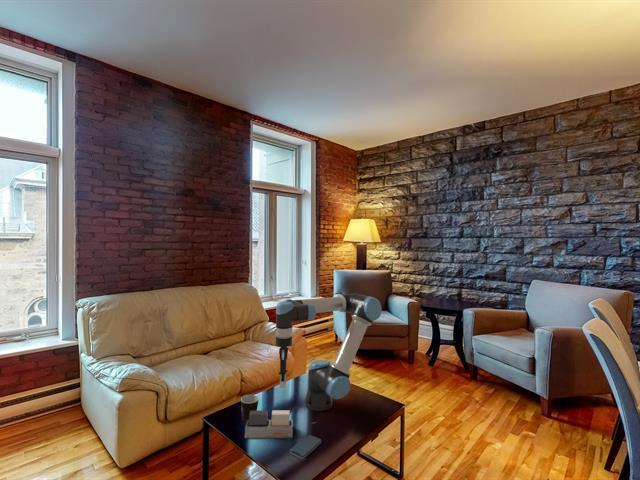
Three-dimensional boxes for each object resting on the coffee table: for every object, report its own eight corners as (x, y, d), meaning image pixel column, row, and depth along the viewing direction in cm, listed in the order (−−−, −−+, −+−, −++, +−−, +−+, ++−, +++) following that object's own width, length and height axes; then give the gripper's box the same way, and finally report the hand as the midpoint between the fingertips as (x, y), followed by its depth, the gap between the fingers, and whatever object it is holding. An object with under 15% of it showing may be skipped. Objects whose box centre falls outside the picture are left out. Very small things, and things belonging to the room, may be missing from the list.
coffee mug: (253, 425, 153) (254, 404, 153) (237, 422, 155) (237, 402, 155) (263, 412, 165) (263, 393, 165) (247, 410, 167) (247, 391, 167)
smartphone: (322, 439, 143) (303, 456, 130) (322, 443, 143) (303, 461, 130) (308, 433, 147) (288, 449, 134) (308, 437, 147) (288, 454, 134)
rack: (292, 426, 154) (293, 407, 154) (292, 438, 145) (293, 417, 145) (247, 426, 152) (248, 407, 152) (244, 438, 143) (245, 418, 143)
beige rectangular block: (289, 427, 151) (289, 410, 151) (288, 431, 147) (289, 414, 147) (271, 427, 150) (272, 410, 150) (271, 432, 147) (271, 414, 147)
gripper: (276, 332, 155) (275, 381, 155) (274, 340, 142) (273, 394, 142) (292, 332, 156) (291, 381, 156) (291, 340, 143) (290, 393, 143)
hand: (282, 387), depth 149 cm, fingers closed
